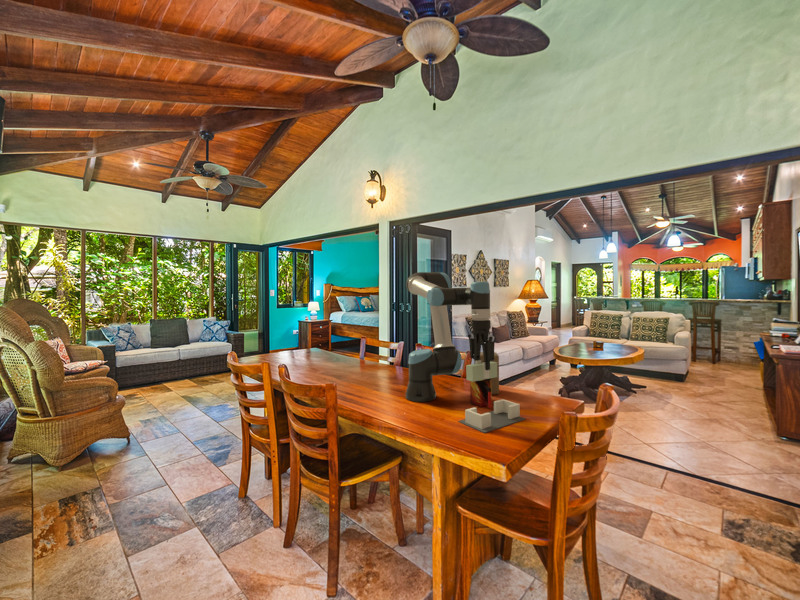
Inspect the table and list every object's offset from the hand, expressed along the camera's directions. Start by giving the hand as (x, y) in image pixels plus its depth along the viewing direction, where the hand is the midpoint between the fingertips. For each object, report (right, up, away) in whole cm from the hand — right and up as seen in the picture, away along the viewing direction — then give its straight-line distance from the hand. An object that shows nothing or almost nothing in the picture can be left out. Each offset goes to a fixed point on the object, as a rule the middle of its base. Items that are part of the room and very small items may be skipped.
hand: (482, 377), depth 145 cm
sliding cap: (+12, -17, +5) cm, 21 cm away
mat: (+4, -18, 0) cm, 18 cm away
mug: (+6, -17, +20) cm, 27 cm away
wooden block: (+12, -17, +40) cm, 45 cm away
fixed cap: (-3, -18, -5) cm, 18 cm away
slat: (0, -1, 0) cm, 1 cm away
